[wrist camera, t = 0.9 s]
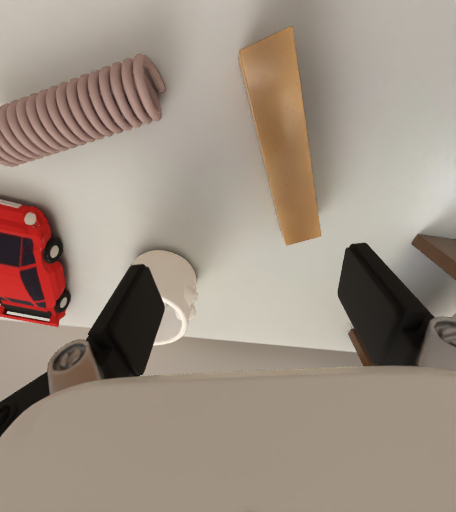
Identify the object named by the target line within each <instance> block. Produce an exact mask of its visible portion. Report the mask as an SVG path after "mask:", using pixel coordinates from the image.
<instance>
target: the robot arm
mask: <svg viewBox="0 0 456 512" xmlns="http://www.w3.org/2000/svg"><path fill="white" fill-rule="evenodd" d="M338 297H339V299H340V301H341V303H342V305H343V307H344V309H345V311H346V313H347V315H348V317H349V319H350V321H351V323H352V324H353V326H354V328H355V330H356V332H357V334H358V336H359V338H360V340H361V342H362V344H363V346H364V348H365V349H366V351H367V353H368V355H369V357H370V359H371V361H372V362H373V363H374V364H377V365H378V366H356V367H330V368H305V369H304V368H303V369H281V370H257V371H235V372H213V373H193V374H174V375H154V376H140V375H142V374H143V373H144V371H145V368H146V365H147V362H148V359H149V356H150V353H151V350H152V347H153V344H154V341H155V338H156V335H157V332H158V329H159V326H160V323H161V320H162V317H163V314H164V311H165V305H164V302H163V300H162V298H161V295H160V293H159V290H158V288H157V286H156V283H155V281H154V278H153V276H152V273H151V271H150V269H149V267H146V266H145V265H144V264H137V265H131V266H130V267H129V269H128V271H127V272H126V274H125V275H124V277H123V279H122V280H121V282H120V283H119V285H118V287H117V288H116V290H115V291H114V293H113V295H112V296H111V298H110V299H109V301H108V302H107V304H106V306H105V307H104V309H103V310H102V312H101V314H100V315H99V317H98V318H97V320H96V322H95V323H94V325H93V326H92V328H91V330H90V331H89V333H88V335H89V336H88V338H87V339H86V340H75V341H72V342H70V343H68V344H66V345H64V346H63V347H61V348H60V349H59V350H58V351H57V352H56V353H55V354H54V355H53V356H52V358H51V359H50V361H49V363H48V369H47V372H46V373H44V374H43V375H41V376H40V377H38V378H37V379H35V380H34V381H32V382H30V383H29V384H27V385H26V386H24V387H23V388H21V389H20V390H18V391H17V392H15V393H13V394H12V395H10V396H9V397H7V398H6V399H4V400H3V401H1V402H0V512H456V319H455V318H452V317H443V316H442V317H434V316H433V315H432V314H431V313H430V312H429V311H428V310H427V309H426V308H425V307H424V305H423V304H422V303H421V302H420V301H419V300H418V299H417V298H416V297H415V296H414V294H413V293H412V292H411V291H410V290H409V289H408V288H407V287H406V286H405V285H404V284H403V282H402V281H401V280H400V279H399V278H398V277H397V276H396V275H395V274H394V273H393V272H392V271H391V270H390V269H389V267H388V266H387V265H386V264H385V263H384V262H383V261H382V260H381V259H380V258H379V256H378V255H377V254H376V253H375V252H374V251H373V250H372V249H371V248H370V247H369V245H368V244H366V243H357V244H351V245H350V247H349V248H346V250H345V255H344V261H343V266H342V271H341V276H340V282H339V287H338Z"/></svg>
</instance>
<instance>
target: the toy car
mask: <svg viewBox="0 0 456 512" xmlns="http://www.w3.org/2000/svg"><path fill="white" fill-rule="evenodd" d="M51 235H52V234H51V229H50V225H49V223H48V220H47V218H46V217H45V215H44V214H43V212H42V211H40V210H39V209H37V208H35V207H32V206H26V205H22V204H18V203H14V202H10V201H5V200H1V199H0V304H1V305H0V317H6V318H11V319H17V320H22V321H28V322H33V323H39V324H45V325H50V326H56V327H58V325H59V320H60V319H61V318H62V317H64V316H65V310H66V308H67V306H68V304H69V302H70V294H69V293H68V292H63V291H64V288H65V286H66V283H65V278H64V272H63V267H62V265H61V264H60V263H59V262H58V259H59V258H60V256H61V254H62V250H63V246H62V243H61V241H60V240H58V239H51V240H50V237H51ZM49 240H50V241H49ZM7 311H11V312H16V313H22V314H27V315H32V316H38V317H43V318H49V319H50V322H48V321H43V320H37V319H32V318H26V317H21V316H15V315H10V314H6V313H7Z"/></svg>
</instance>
